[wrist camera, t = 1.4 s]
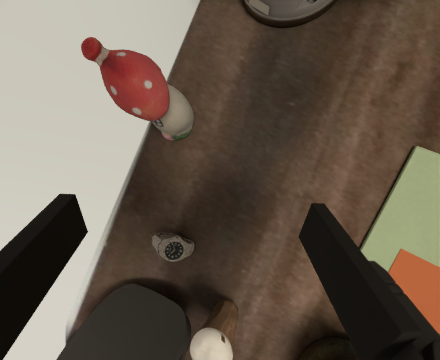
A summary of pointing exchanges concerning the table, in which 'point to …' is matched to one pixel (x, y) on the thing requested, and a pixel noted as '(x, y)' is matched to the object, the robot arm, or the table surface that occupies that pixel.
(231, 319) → the milkshake
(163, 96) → the decorative ornament
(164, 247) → the wristwatch
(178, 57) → the table surface
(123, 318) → the media streaming box
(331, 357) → the owl figurine
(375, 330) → the robot arm
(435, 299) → the mat
